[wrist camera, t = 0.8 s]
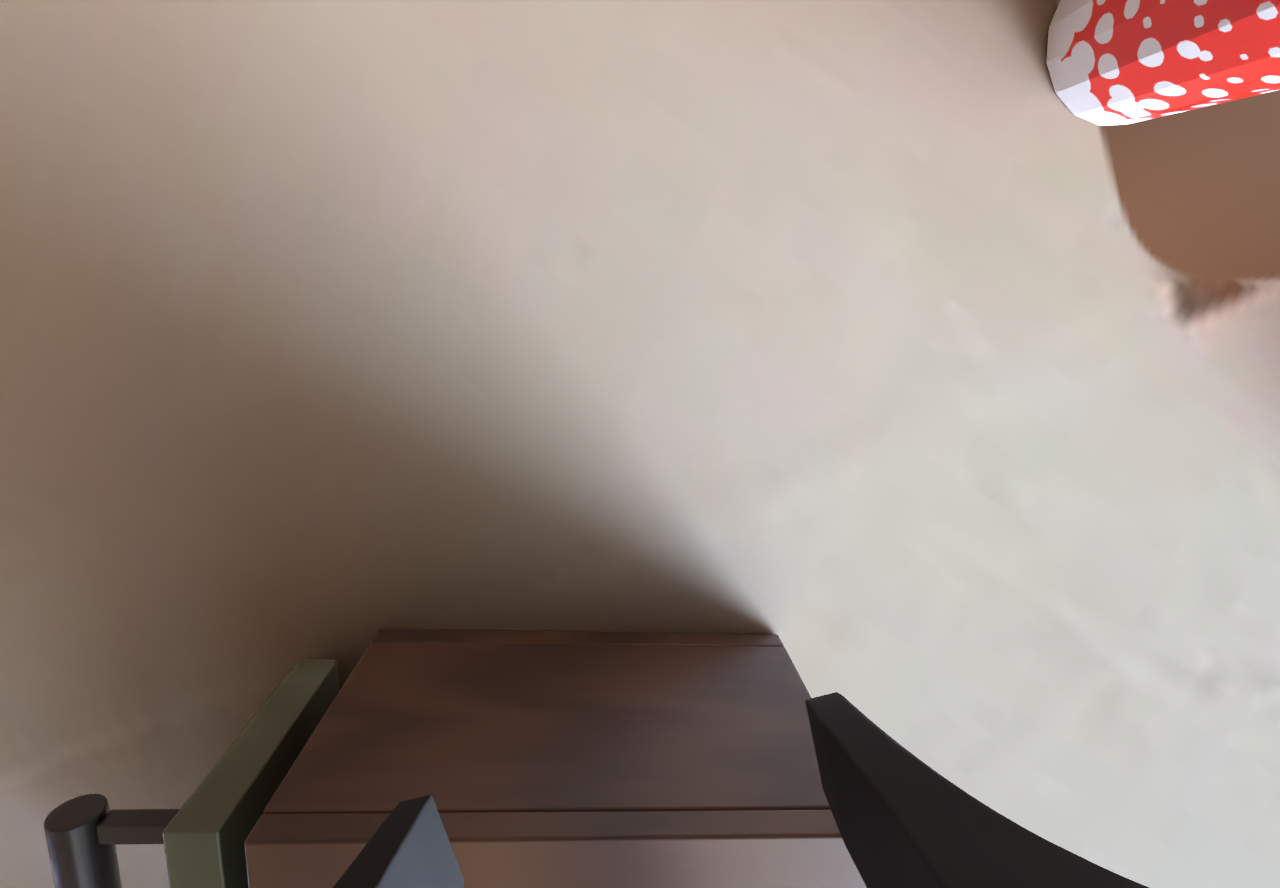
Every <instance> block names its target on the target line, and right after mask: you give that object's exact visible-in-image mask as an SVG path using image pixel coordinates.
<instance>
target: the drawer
mask: <svg viewBox="0 0 1280 888" xmlns="http://www.w3.org/2000/svg"><path fill="white" fill-rule="evenodd" d="M338 693H339V682H338V665H337V660H312V659H301V660H299V661H298V662H297V663H296V665H295V666H294V667H293V668H292V670H291V671H290V672H289V673H288V675H287V676H286V677H285V678H284V680H283V681H282V682H281V683H280V685H279V686H278V687H277V689H276V690H275V691H274V692H273V694H272V695H271V696H270V697H269V699H268V700H267V701H266V702H265V704H264V705H263V706H262V707H261V709H260V710H259V711H258V712H257V714H256V715H255V716H254V717H253V719H252V720H251V721H250V722H249V724H248V725H247V726H246V727H245V729H244V730H243V731H242V732H241V734H240V735H239V736H238V737H237V739H236V740H235V741H234V743H233V744H232V745H231V746H230V748H229V749H228V750H227V751H226V753H225V754H224V755H223V756H222V758H221V759H220V760H219V761H218V763H217V764H216V765H215V766H214V768H213V769H212V770H211V771H210V773H209V774H208V775H207V776H206V778H205V779H204V780H203V781H202V783H201V784H200V785H199V786H198V788H197V789H196V790H195V792H194V793H193V794H192V795H191V797H190V798H189V799H188V800H187V802H186V803H185V804H184V805H183V807H182V808H181V809H121V810H111V811H110V810H109V804H108V800H107V798H106V797H105V796H103V795H100V794H87V795H82V796H79V797H76V798H73V799H71V800H68V801H66V802H64V803H63V804H61V805H59V806H58V807H56V808H55V809H54V810H53V811H52V812H51V813H50V814H49V815H48V816H47V817H46V819H45V821H44V831H45V837H46V842H47V847H48V852H49V858H50V863H51V868H52V873H53V879H54V884H55V888H122V885H121V879H120V872H119V866H118V860H117V854H116V847H115V844H164V847H165V854H166V861H167V869H168V876H169V883H170V888H249V885H248V876H247V866H246V857H245V847H244V842H245V840H246V838H247V837H248V835H249V833H250V832H251V830H252V829H253V827H254V826H255V824H256V822H257V821H258V819H259V818H260V816H261V815H262V814H263V811H264V809H265V808H266V806H267V804H268V803H269V801H270V800H271V798H272V797H273V795H274V793H275V792H276V790H277V789H278V787H279V786H280V784H281V782H282V781H283V779H284V778H285V776H286V775H287V773H288V771H289V770H290V768H291V767H292V765H293V764H294V762H295V760H296V759H297V757H298V756H299V754H300V752H301V751H302V749H303V748H304V746H305V745H306V743H307V741H308V740H309V738H310V737H311V735H312V734H313V732H314V730H315V729H316V727H317V726H318V724H319V723H320V721H321V719H322V718H323V716H324V715H325V713H326V712H327V710H328V708H329V707H330V705H331V704H332V702H333V701H334V699H335V697H336V696H337V694H338Z"/></svg>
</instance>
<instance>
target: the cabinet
mask: <svg viewBox="0 0 1280 888" xmlns="http://www.w3.org/2000/svg"><path fill="white" fill-rule="evenodd" d="M808 699H811V697H810V695H809V693H808V691H807V689H806V687H805V685H804V683H803V682H802V680H801V678H800V676H799V674H798V672H797V670H796V668H795V666H794V664H793V663H792V661H791V659H790V657H789V655H788V653H787V651H786V649H785V648H784V646H783V644H782V642H781V640H780V638H779V636H778V635H765V634H694V633H623V632H551V631H480V630H409V629H379V630H378V631H377V633H376V635H375V636H374V638H373V639H372V641H371V642H370V644H369V645H368V647H367V649H366V650H365V652H364V653H363V655H362V656H361V658H360V660H359V661H358V663H357V664H356V666H355V667H354V669H353V671H352V672H351V674H350V675H349V677H348V678H347V680H346V682H345V683H344V685H343V686H342V688H341V689H340V691H339V693H338V694H337V696H336V697H335V699H334V701H333V702H332V704H331V705H330V707H329V708H328V710H327V712H326V713H325V715H324V716H323V718H322V719H321V721H320V723H319V724H318V726H317V727H316V729H315V730H314V732H313V734H312V735H311V737H310V738H309V740H308V741H307V743H306V745H305V746H304V748H303V749H302V751H301V752H300V754H299V756H298V757H297V759H296V760H295V762H294V764H293V765H292V767H291V768H290V770H289V771H288V773H287V775H286V776H285V778H284V779H283V781H282V782H281V784H280V786H279V787H278V789H277V790H276V792H275V793H274V795H273V797H272V798H271V800H270V801H269V803H268V804H267V806H266V808H265V809H264V811H263V814H262V815H261V816H260V818H259V819H258V821H257V822H256V824H255V826H254V827H253V829H252V830H251V832H250V833H249V835H248V837H247V838H246V840H245V842H244V847H245V857H246V866H247V876H248V885H249V888H333V887H334V885H335V884H336V883H337V881H338V880H339V879H340V878H341V876H342V875H343V874H344V873H345V871H346V870H347V869H348V867H349V866H350V865H351V864H352V862H353V861H354V860H355V858H356V857H357V856H358V854H359V853H360V852H361V851H362V849H363V848H364V847H365V845H366V844H367V843H368V841H369V840H370V839H371V838H372V836H373V835H374V834H375V832H376V831H377V830H378V828H379V827H380V826H381V825H382V823H383V822H384V821H385V819H386V818H387V817H388V816H389V814H390V813H391V812H392V811H393V810H394V808H395V807H396V806H397V805H398V804H399V802H402V801H406V800H410V799H414V798H418V797H422V796H426V795H429V794H432V797H433V800H434V802H435V805H436V807H437V810H438V813H439V815H440V818H441V821H442V823H443V826H444V828H445V831H446V834H447V836H448V839H449V842H450V844H451V847H452V849H453V852H454V855H455V857H456V860H457V863H458V865H459V868H460V871H461V873H462V876H463V878H464V886H463V888H867V887H866V885H865V883H864V881H863V879H862V877H861V875H860V873H859V871H858V869H857V868H856V866H855V864H854V862H853V860H852V858H851V856H850V854H849V852H848V850H847V848H846V846H845V844H844V841H843V839H842V836H841V834H840V831H839V829H838V826H837V824H836V821H835V819H834V816H833V814H832V811H831V809H830V806H829V804H828V801H827V798H826V796H825V793H824V791H823V787H822V782H821V777H820V772H819V767H818V762H817V757H816V752H815V747H814V742H813V737H812V732H811V727H810V722H809V717H808V712H807V707H806V702H805V700H808Z"/></svg>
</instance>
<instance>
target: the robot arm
mask: <svg viewBox="0 0 1280 888" xmlns="http://www.w3.org/2000/svg"><path fill="white" fill-rule="evenodd" d="M805 702H806V707H807V712H808V717H809V722H810V727H811V732H812V737H813V742H814V747H815V752H816V757H817V762H818V767H819V772H820V777H821V782H822V787H823V791H824V793H825V796H826V798H827V801H828V804H829V806H830V809H831V811H832V814H833V816H834V819H835V821H836V824H837V826H838V829H839V831H840V834H841V836H842V839H843V841H844V844H845V846H846V848H847V850H848V852H849V854H850V856H851V858H852V860H853V862H854V864H855V866H856V868H857V869H858V871H859V873H860V875H861V877H862V879H863V881H864V883H865V885H866V887H867V888H1148V887H1146V886H1144V885H1141V884H1139V883H1136V882H1134V881H1132V880H1129V879H1127V878H1124V877H1122V876H1120V875H1118V874H1115V873H1113V872H1111V871H1109V870H1107V869H1104V868H1102V867H1100V866H1098V865H1096V864H1094V863H1092V862H1090V861H1088V860H1086V859H1084V858H1082V857H1079V856H1077V855H1075V854H1073V853H1071V852H1069V851H1067V850H1065V849H1063V848H1061V847H1059V846H1057V845H1055V844H1053V843H1051V842H1049V841H1047V840H1045V839H1043V838H1041V837H1039V836H1038V835H1036V834H1034V833H1032V832H1030V831H1028V830H1027V829H1025V828H1023V827H1021V826H1020V825H1018V824H1016V823H1014V822H1013V821H1011V820H1009V819H1008V818H1006V817H1004V816H1002V815H1001V814H999V813H997V812H996V811H994V810H992V809H991V808H989V807H988V806H986V805H984V804H983V803H981V802H980V801H978V800H977V799H975V798H974V797H972V796H970V795H969V794H967V793H966V792H964V791H963V790H962V789H960V788H959V787H957V786H956V785H954V784H953V783H951V782H950V781H948V780H947V779H945V778H944V777H943V776H941V775H940V774H938V773H937V772H936V771H934V770H933V769H931V768H930V767H929V766H927V765H926V764H925V763H923V762H922V761H921V760H919V759H918V758H917V757H915V756H914V755H913V754H911V753H910V752H909V751H908V750H906V749H905V748H904V747H902V746H901V745H900V744H898V743H897V742H896V741H895V740H893V739H892V738H891V737H890V736H888V735H887V734H886V733H885V732H884V731H882V730H881V729H880V728H879V727H878V726H876V725H875V724H874V723H873V722H872V721H870V720H869V719H868V718H867V717H866V716H865V715H864V714H862V713H861V712H860V711H859V710H858V709H857V708H856V707H854V706H853V705H852V704H851V703H850V702H849V701H848V700H847V699H846V698H845V697H843V696H842V695H840V694H839V693H837V692H836V693H832V694H828V695H824V696H820V697H816V698H812V699H808V700H805ZM463 886H464V878H463V876H462V873H461V871H460V868H459V865H458V863H457V860H456V857H455V855H454V852H453V849H452V847H451V844H450V842H449V839H448V836H447V834H446V831H445V828H444V826H443V823H442V821H441V818H440V815H439V813H438V810H437V807H436V805H435V802H434V800H433V797H432V794H429V795H426V796H422V797H418V798H414V799H410V800H406V801H402V802H399V804H398V805H397V806H396V807H395V808H394V810H393V811H392V812H391V813H390V814H389V816H388V817H387V818H386V819H385V821H384V822H383V823H382V825H381V826H380V827H379V828H378V830H377V831H376V832H375V834H374V835H373V836H372V838H371V839H370V840H369V841H368V843H367V844H366V845H365V847H364V848H363V849H362V851H361V852H360V853H359V854H358V856H357V857H356V858H355V860H354V861H353V862H352V864H351V865H350V866H349V867H348V869H347V870H346V871H345V873H344V874H343V875H342V876H341V878H340V879H339V880H338V881H337V883H336V884H335V885H334V887H333V888H463Z"/></svg>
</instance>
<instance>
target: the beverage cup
mask: <svg viewBox="0 0 1280 888" xmlns="http://www.w3.org/2000/svg"><path fill="white" fill-rule="evenodd" d="M1046 63H1047V66H1048V70H1049V73H1050V77H1051V80H1052V83H1053V87H1054V90H1055V93H1056V94H1057V96H1058V97H1059V98H1060V99H1061V100H1062V101H1063V103H1064V104H1065V105H1066V106H1067V107H1068V108H1069V110H1070V111H1071V112H1072V113H1073V114H1074V115H1075V116H1077V117H1080V118H1082V119H1084V120H1087V121H1089V122H1092V123H1094V124H1096V125H1099V126H1107V125H1108V126H1109V125H1123V124H1132V123H1136V122H1140V121H1145V120H1149V119H1154V118H1158V117H1163V116H1167V115H1171V114H1176V113H1180V112H1184V111H1189V110H1193V109H1198V108H1202V107H1207V106H1211V105H1215V104H1220V103H1224V102H1229V101H1233V100H1237V99H1242V98H1246V97H1251V96H1255V95H1260V94H1264V93H1268V92H1273V91H1277V90H1280V0H1060V2H1059V5H1058V7H1057V9H1056V12H1055V14H1054V17H1053V19H1052V21H1051V24H1050V26H1049V31H1048V46H1047V60H1046Z"/></svg>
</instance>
